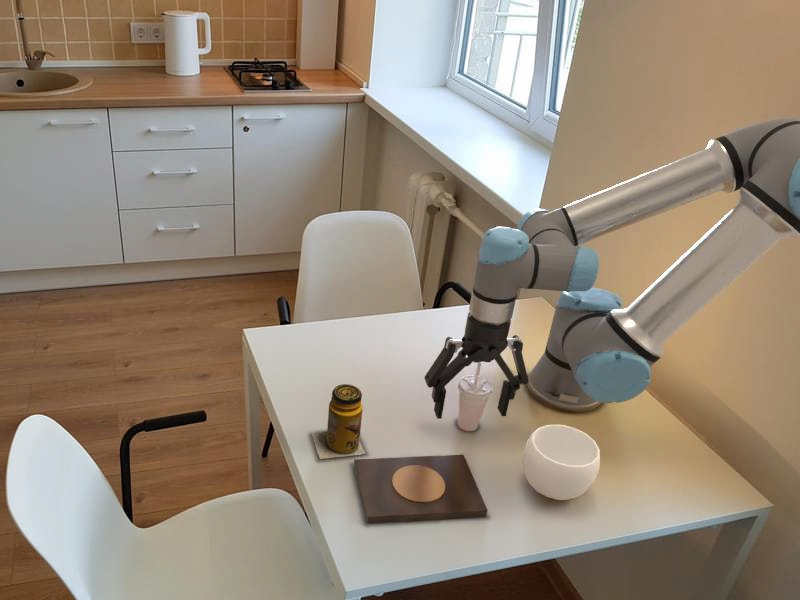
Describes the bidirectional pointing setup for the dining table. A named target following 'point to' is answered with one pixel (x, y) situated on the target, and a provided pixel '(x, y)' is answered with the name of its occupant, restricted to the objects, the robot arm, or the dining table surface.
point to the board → (418, 488)
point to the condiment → (342, 424)
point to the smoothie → (472, 399)
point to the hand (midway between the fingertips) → (469, 413)
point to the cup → (561, 461)
